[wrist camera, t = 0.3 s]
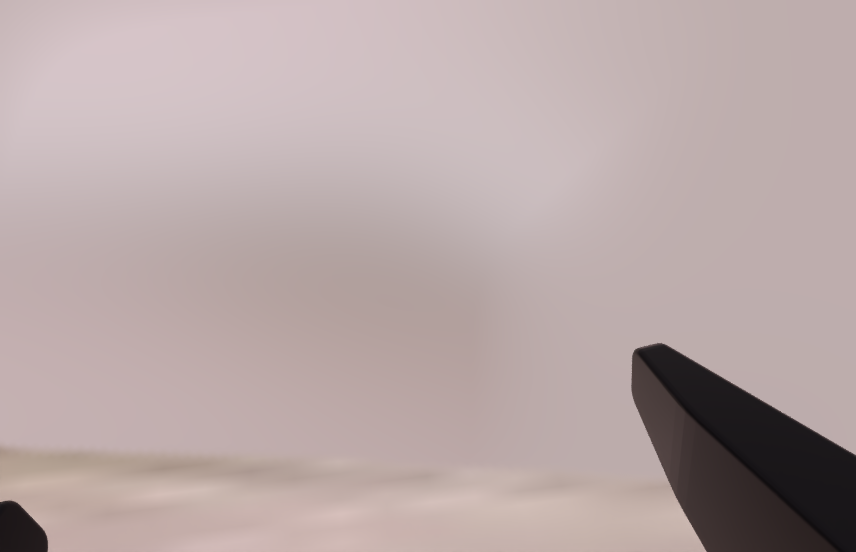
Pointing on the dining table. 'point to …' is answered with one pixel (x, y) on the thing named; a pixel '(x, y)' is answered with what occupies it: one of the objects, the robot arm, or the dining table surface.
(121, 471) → the dining table surface
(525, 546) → the dining table surface
